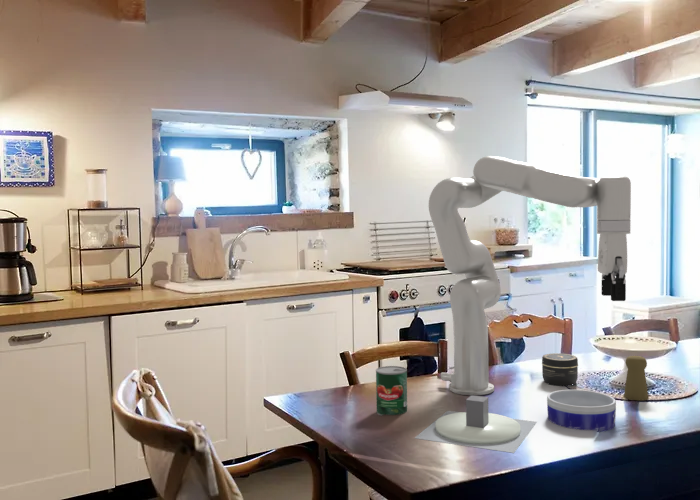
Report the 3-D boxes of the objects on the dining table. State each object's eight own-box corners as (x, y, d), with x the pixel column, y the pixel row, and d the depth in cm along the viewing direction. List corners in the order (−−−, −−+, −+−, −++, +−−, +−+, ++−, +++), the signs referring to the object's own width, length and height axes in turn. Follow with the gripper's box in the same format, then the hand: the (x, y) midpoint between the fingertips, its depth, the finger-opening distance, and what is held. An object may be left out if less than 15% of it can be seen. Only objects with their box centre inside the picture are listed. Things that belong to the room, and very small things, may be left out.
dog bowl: (555, 409, 166) (555, 386, 165) (620, 418, 158) (620, 393, 158) (540, 427, 153) (540, 401, 152) (610, 437, 145) (610, 410, 145)
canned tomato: (380, 418, 162) (379, 374, 161) (373, 409, 169) (372, 366, 169) (411, 415, 163) (410, 372, 162) (403, 406, 171) (402, 365, 170)
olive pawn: (651, 400, 171) (651, 359, 170) (626, 400, 172) (626, 358, 172) (645, 394, 177) (645, 354, 176) (621, 393, 178) (621, 353, 178)
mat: (414, 440, 145) (414, 437, 145) (447, 413, 165) (447, 410, 164) (514, 455, 135) (514, 452, 135) (536, 424, 154) (536, 421, 154)
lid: (423, 436, 146) (422, 404, 145) (451, 413, 162) (451, 384, 162) (508, 449, 137) (508, 415, 136) (529, 422, 154) (528, 392, 153)
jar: (558, 376, 198) (558, 351, 198) (585, 383, 190) (585, 357, 189) (534, 381, 193) (534, 355, 193) (561, 388, 185) (561, 362, 184)
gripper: (589, 227, 168) (589, 293, 169) (605, 228, 151) (605, 303, 152) (620, 226, 167) (620, 293, 168) (640, 228, 150) (639, 303, 151)
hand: (613, 298), depth 160 cm, fingers open, 9 cm apart
